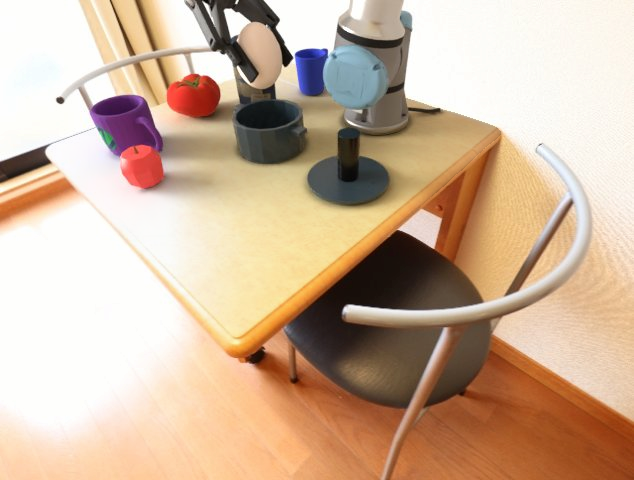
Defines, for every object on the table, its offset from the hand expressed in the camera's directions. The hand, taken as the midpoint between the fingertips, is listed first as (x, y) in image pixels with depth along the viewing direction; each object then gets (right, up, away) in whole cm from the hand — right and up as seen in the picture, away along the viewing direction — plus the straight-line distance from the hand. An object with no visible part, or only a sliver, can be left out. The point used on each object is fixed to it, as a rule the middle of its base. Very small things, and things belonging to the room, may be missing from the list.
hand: (272, 70), depth 68 cm
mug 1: (-31, -12, +14) cm, 36 cm away
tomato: (-22, +1, +27) cm, 35 cm away
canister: (-7, +3, +28) cm, 29 cm away
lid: (+14, -20, +2) cm, 24 cm away
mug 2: (+8, +11, +35) cm, 38 cm away
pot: (-2, -11, +14) cm, 17 cm away
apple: (-25, -20, +6) cm, 33 cm away
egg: (-2, -2, +4) cm, 5 cm away
